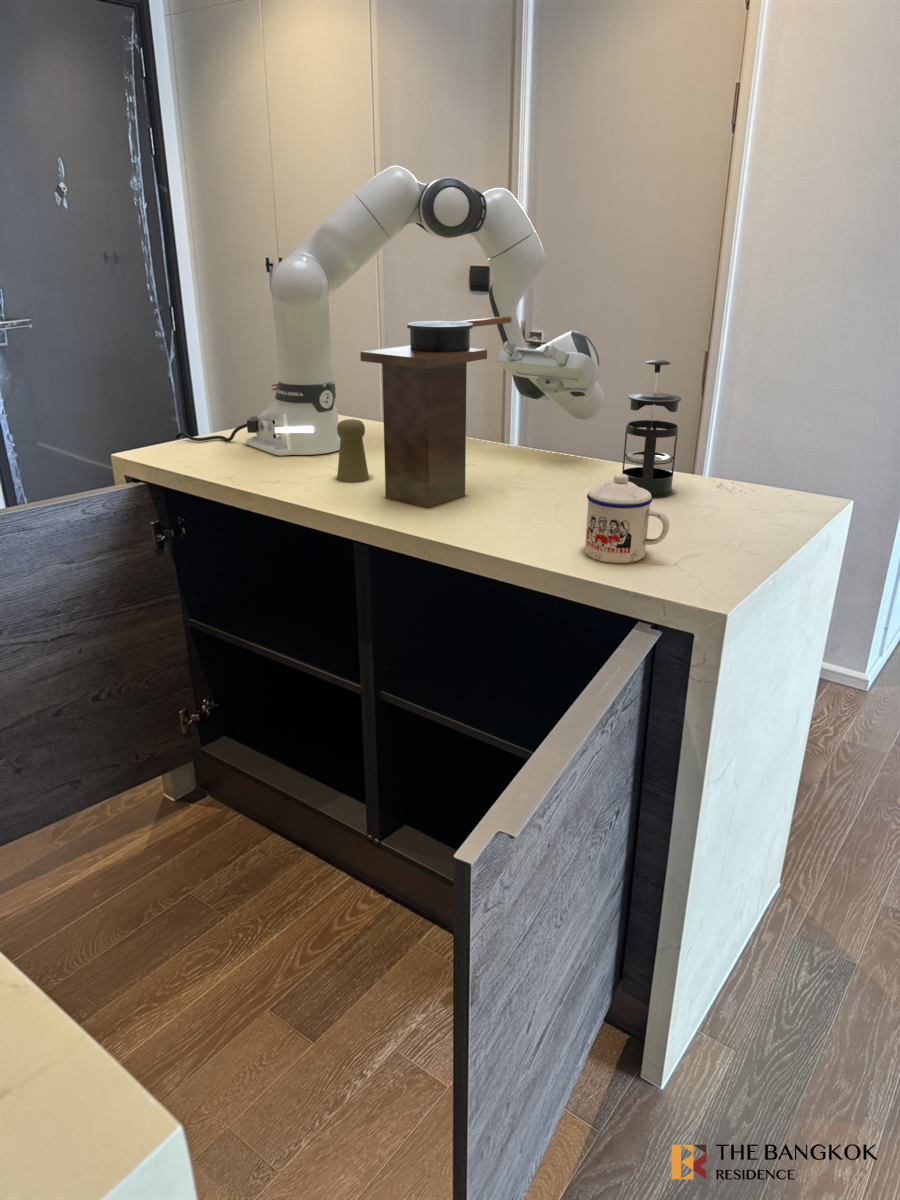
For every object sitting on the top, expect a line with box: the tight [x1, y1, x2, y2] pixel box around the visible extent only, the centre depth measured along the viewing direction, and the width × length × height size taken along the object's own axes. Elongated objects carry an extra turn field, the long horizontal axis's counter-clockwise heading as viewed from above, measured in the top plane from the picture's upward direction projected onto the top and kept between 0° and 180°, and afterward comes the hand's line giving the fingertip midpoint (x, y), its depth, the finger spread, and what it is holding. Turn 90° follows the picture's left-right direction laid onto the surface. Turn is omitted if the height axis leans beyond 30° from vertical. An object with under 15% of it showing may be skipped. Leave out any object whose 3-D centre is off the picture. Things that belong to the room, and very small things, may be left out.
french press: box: [621, 359, 682, 499], centre depth 152 cm, size 12×9×23 cm
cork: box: [336, 418, 370, 483], centre depth 162 cm, size 6×6×11 cm
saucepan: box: [406, 316, 512, 352], centre depth 150 cm, size 11×25×4 cm, turn 141°
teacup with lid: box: [584, 473, 670, 564], centre depth 122 cm, size 12×9×12 cm
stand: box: [359, 344, 488, 509], centre depth 147 cm, size 14×16×25 cm
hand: (526, 347), depth 165 cm, fingers open, 8 cm apart
